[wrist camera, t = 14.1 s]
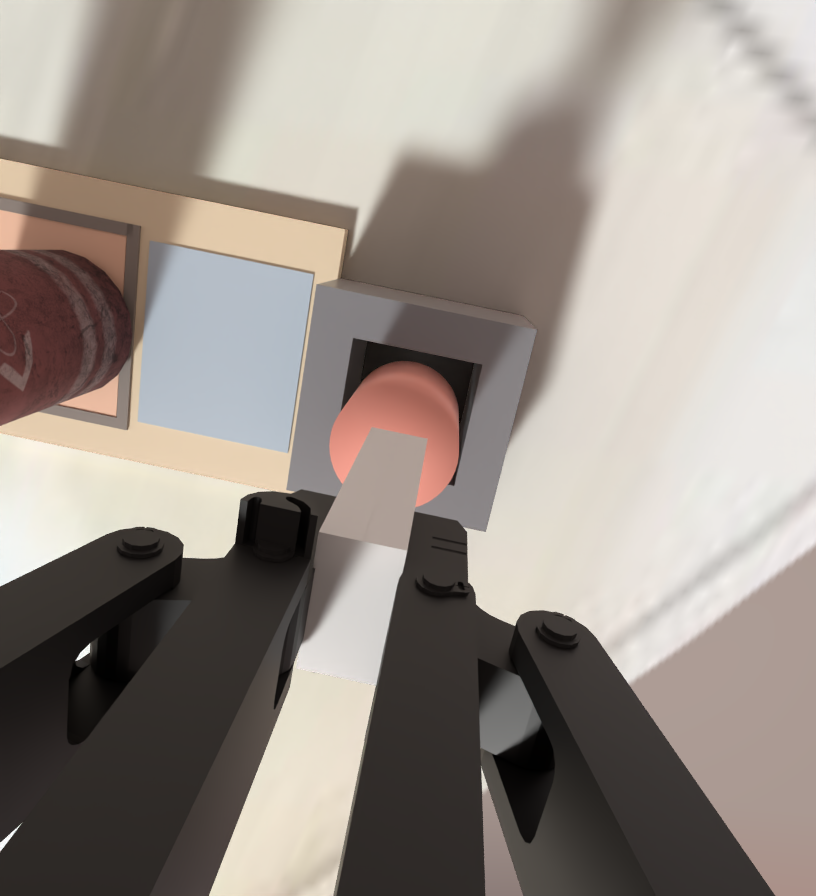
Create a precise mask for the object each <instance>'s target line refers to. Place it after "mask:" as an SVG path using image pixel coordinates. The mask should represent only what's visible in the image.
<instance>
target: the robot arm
mask: <svg viewBox="0 0 816 896" xmlns="http://www.w3.org/2000/svg"><path fill="white" fill-rule="evenodd" d="M427 440H428V439H426V438H422V437H417V436H412V435H407V434H403V433H398V432H393V431H388V430H384V429H379V428H374V427H372V428H371V430H370V432H369V434H368V436H367V437H366V439H365V441H364V443H363V445H362V447H361V449H360V451H359V453H358V455H357V457H356V459H355V461H354V463H353V465H352V467H351V469H350V471H349V473H348V475H347V477H346V479H345V481H344V483H343V485H342V487H341V489H340V491H339V493H338V495H337V497H336V496H331V495H327V494H322V493H317V492H313V491H308V490H303V489H301V490H298V491H296V492H294V493H291V494H290V493H283V492H275V491H271V492H257V493H253V494H249V495H247V496H245V497H244V498H242V499H241V500H240V509H239V517H238V525H237V533H236V541H235V544H234V546H233V547H232V548H231V550H230V551H229V552H228V554H227V555H226V556H225V557H224V558H217V559H197V558H182V557H183V546H184V545H183V543H182V542H181V541H180V539H179V538H178V537H176V536H174V535H172V534H170V533H168V532H165V531H161V530H157V529H155V528H149V527H147V528H145V527H135V528H131V529H123V530H118V531H115V532H112V533H109V534H107V535H105V536H103V537H100V538H98V539H96V540H94V541H92V542H90V543H88V544H86V545H84V546H82V547H80V548H78V549H76V550H74V551H72V552H70V553H68V554H66V555H64V556H62V557H60V558H58V559H56V560H54V561H52V562H49V563H47V564H45V565H43V566H41V567H39V568H37V569H35V570H33V571H31V572H29V573H27V574H25V575H23V576H21V577H19V578H17V579H15V580H13V581H11V582H9V583H7V584H5V585H3V586H1V587H0V842H1V841H2V840H4V839H5V838H6V837H7V836H8V835H9V834H10V833H11V832H12V831H14V830H15V829H16V828H17V827H18V826H19V825H20V824H21V823H22V822H23V823H22V824H21V825H20V827H19V828H18V829H17V831H16V832H15V833H14V835H13V836H12V837H11V839H10V840H9V841H8V843H7V844H6V845H5V846H4V848H3V849H2V850H1V852H0V896H209V893H210V891H211V888H212V886H213V883H214V881H215V878H216V875H217V873H218V870H219V868H220V865H221V863H222V860H223V857H224V855H225V852H226V850H227V847H228V845H229V842H230V839H231V837H232V834H233V832H234V829H235V827H236V824H237V821H238V819H239V816H240V814H241V811H242V809H243V806H244V803H245V801H246V798H247V796H248V793H249V791H250V788H251V785H252V783H253V780H254V778H255V775H256V773H257V770H258V767H259V765H260V762H261V760H262V757H263V755H264V752H265V749H266V747H267V744H268V742H269V739H270V737H271V734H272V731H273V729H274V726H275V724H276V721H277V718H278V716H279V713H280V711H281V708H282V706H283V703H284V700H285V698H286V695H287V693H288V690H289V688H290V683H291V677H292V671H293V664H294V661H295V658H296V656H297V653H298V651H299V654H298V660H297V666H296V668H297V669H301V670H306V671H311V672H315V673H320V674H324V675H329V676H333V677H338V678H343V679H347V680H352V681H356V682H361V683H366V684H370V685H375V686H376V688H375V693H374V698H373V702H372V707H371V712H370V716H369V721H368V726H367V730H366V735H365V742H364V747H363V752H362V757H361V762H360V767H359V772H358V777H357V781H356V786H355V791H354V796H353V801H352V806H351V811H350V816H349V821H348V826H347V831H346V836H345V841H344V846H343V851H342V856H341V861H340V866H339V871H338V876H337V880H336V885H335V890H334V895H333V896H485V873H484V845H483V843H484V842H483V811H482V780H481V766H482V770H483V773H484V776H485V779H486V782H487V785H488V788H489V791H490V794H491V797H492V800H493V803H494V806H495V809H496V813H497V816H498V819H499V822H500V825H501V828H502V831H503V834H504V837H505V840H506V843H507V847H508V850H509V853H510V856H511V859H512V862H513V865H514V868H515V871H516V874H517V878H518V881H519V884H520V887H521V890H522V893H523V896H775V895H774V893H773V892H772V891H771V889H770V888H769V886H768V885H767V883H766V882H765V880H764V879H763V878H762V876H761V875H760V873H759V872H758V870H757V869H756V867H755V866H754V865H753V863H752V862H751V860H750V859H749V857H748V856H747V855H746V853H745V852H744V850H743V849H742V848H741V846H740V844H739V843H738V842H737V840H736V839H735V837H734V836H733V834H732V833H731V831H730V830H729V829H728V827H727V826H726V824H725V823H724V821H723V820H722V818H721V817H720V816H719V814H718V813H717V811H716V810H715V808H714V807H713V806H712V804H711V803H710V801H709V800H708V798H707V797H706V796H705V794H704V793H703V791H702V790H701V788H700V787H699V785H698V784H697V782H696V781H695V780H694V778H693V777H692V775H691V774H690V772H689V771H688V769H687V768H686V767H685V765H684V764H683V762H682V761H681V759H680V758H679V757H678V755H677V754H676V752H675V751H674V749H673V748H672V746H671V745H670V744H669V742H668V741H667V739H666V738H665V736H664V735H663V734H662V732H661V731H660V729H659V728H658V726H657V725H656V724H655V722H654V720H653V719H652V718H651V716H650V715H649V713H648V712H647V710H645V708H644V706H643V705H642V703H641V702H640V701H639V699H638V698H637V696H636V695H635V693H634V692H633V690H632V689H631V687H630V686H629V684H628V683H627V682H626V680H625V679H624V677H623V676H622V674H621V673H620V672H619V670H618V669H617V667H616V666H615V664H614V663H613V661H612V660H611V659H610V657H609V656H608V654H607V653H606V651H605V650H604V648H603V647H602V646H601V644H600V643H599V641H598V640H597V638H596V637H595V636H594V635H593V634H592V633H591V632H590V631H589V630H588V629H587V628H586V627H585V626H583V625H582V624H580V623H578V622H577V621H575V620H574V619H573V618H571V617H569V616H566V615H565V616H564V614H561V613H557V612H549V611H544V610H541V611H529V612H526V613H524V614H522V615H520V617H519V619H518V621H517V623H516V626H513V625H511V624H508V623H506V622H504V621H501V620H499V619H497V618H495V617H493V616H491V615H489V614H488V613H486V612H485V611H483V610H482V609H480V608H479V607H478V606H477V605H476V596H475V592H474V589H473V587H472V586H471V585H470V584H469V583H468V559H467V532H466V531H465V529H464V528H463V527H462V525H461V524H460V523H459V522H458V521H457V520H452V519H448V518H443V517H438V516H434V515H429V514H424V513H419V512H415V506H416V500H417V495H418V489H419V484H420V478H421V473H422V467H423V462H424V456H425V451H426V445H427ZM89 644H90V653H89V654H87V655H86V656H84V657H83V658H81V659H80V660H78V661H75V660H76V659H77V657H78V655H79V654H80V652H81V651H82V650H83V649H84V648H86V647H87V646H88V645H89ZM480 748H481V749H480Z"/></svg>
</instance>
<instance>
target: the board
mask: <svg viewBox="0 0 816 896" xmlns="http://www.w3.org/2000/svg"><path fill="white" fill-rule="evenodd" d="M347 235H348V230H346V229H341V228H337V227H332V226H327V225H322V224H317V223H312V222H307V221H302V220H297V219H293V218H288V217H283V216H278V215H273V214H268V213H263V212H258V211H254V210H249V209H244V208H239V207H234V206H229V205H224V204H219V203H215V202H210V201H205V200H200V199H195V198H190V197H185V196H180V195H176V194H171V193H166V192H161V191H156V190H151V189H146V188H141V187H137V186H132V185H127V184H122V183H117V182H112V181H107V180H102V179H98V178H93V177H88V176H83V175H78V174H73V173H68V172H63V171H58V170H54V169H49V168H44V167H39V166H34V165H29V164H24V163H19V162H15V161H10V160H5V159H0V250H65V251H68V252H71V253H74V254H77V255H80V256H82V257H85V258H87V259H88V260H89V261H91V262H92V263H94V264H95V265H96V266H98V267H99V268H100V269H102V270H103V271H105V272H106V274H107V275H108V276H109V277H110V279H111V280H112V281H113V282H114V284H115V285H116V286H117V288H118V289H119V290H120V291H121V294H122V296H123V299H124V301H125V303H126V306H127V308H128V310H129V313H130V319H131V328H132V341H131V346H130V352H129V357H128V359H127V361H126V362H125V364H124V366H123V367H122V369H121V371H120V373H119V374H118V375H117V376H116V377H115V378H114V379H112V380H111V381H110V382H109V383H107V384H106V385H105V386H104V387H102V388H99V389H97V390H94V391H91V392H89V393H86V394H83V395H81V396H78V397H75V398H73V399H70V400H68V401H65V402H62V403H60V404H57V405H54V406H52V407H49V408H46V409H44V410H41V411H39V412H36V413H33V414H31V415H28V416H25V417H23V418H20V419H17V420H15V421H12V422H9V423H7V424H4V425H2V426H0V433H2V434H6V435H11V436H16V437H21V438H25V439H30V440H35V441H40V442H44V443H49V444H54V445H59V446H63V447H68V448H73V449H78V450H82V451H87V452H92V453H97V454H101V455H106V456H111V457H116V458H120V459H125V460H130V461H135V462H139V463H144V464H149V465H154V466H159V467H163V468H168V469H173V470H178V471H182V472H187V473H192V474H197V475H201V476H206V477H211V478H216V479H220V480H225V481H230V482H235V483H239V484H244V485H249V486H254V487H258V488H263V489H268V490H273V491H277V492H283V493H290V494H291V493H294V491H289V490H286V488H287V482H288V475H289V468H290V461H291V454H292V447H293V441H294V434H295V427H296V420H297V413H298V407H299V400H300V393H301V386H302V379H303V372H304V366H305V359H306V352H307V345H308V338H309V332H310V325H311V318H312V311H313V304H314V297H315V291H316V284H320V283H324V282H328V281H332V280H336V279H339V278H341V273H342V267H343V261H344V254H345V248H346V241H347Z"/></svg>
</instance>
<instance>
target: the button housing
mask: <svg viewBox="0 0 816 896" xmlns="http://www.w3.org/2000/svg"><path fill="white" fill-rule="evenodd" d="M536 333H537V329H536V328H535V327H534V326H533V325H532V324H531V323H530V322H529V321H528V320H527V319H526V318H525V317H524V316H522V315H517V314H512V313H507V312H503V311H498V310H493V309H488V308H483V307H478V306H473V305H469V304H464V303H459V302H454V301H449V300H444V299H439V298H435V297H430V296H425V295H420V294H415V293H410V292H405V291H401V290H396V289H391V288H386V287H381V286H376V285H371V284H367V283H362V282H357V281H352V280H347V279H342V278H339V279H336V280H332V281H328V282H324V283H320V284H316V291H315V297H314V304H313V311H312V318H311V325H310V332H309V338H308V345H307V352H306V359H305V366H304V372H303V379H302V386H301V393H300V400H299V407H298V413H297V420H296V427H295V434H294V441H293V447H292V454H291V461H290V468H289V475H288V482H287V488H286V490H289V491H294V492H296V491H298V490H301V489H303V490H308V491H313V492H317V493H322V494H327V495H331V496H336V497H337V495H338V493H339V491H340V489H341V487H342V485H343V484H342V483H341V481H340V480H339V478H338V477H337V475H336V473H335V470H334V468H333V465H332V462H331V457H330V448H329V443H330V435H331V431H332V427H333V425H334V422H335V420H336V418H337V417H338V415H339V413H340V412H341V410H342V409H343V408H344V406H345V405H346V403H347V402H348V401H349V399H350V398H351V397H352V395H353V394H354V392H355V391H356V390H357V388H358V387H359V385H360V381H361V375H362V369H363V364H364V358H365V352H366V347H367V341H371V342H376V343H380V344H385V345H390V346H395V347H400V348H405V349H409V350H414V351H419V352H424V353H429V354H434V355H438V356H443V357H448V358H453V359H458V360H463V361H467V362H472V363H474V366H473V371H472V375H471V380H470V384H469V388H468V393H467V397H466V401H465V406H464V410H463V415H462V419H461V423H460V428H459V457H458V463H457V467H456V470H455V473H454V475H453V477H452V479H451V480H450V482H449V484H448V485H447V486H446V487H445V489H444V490H443V491H442V492H441V493H440V494H439V495H438V496H436V497H435V498H434V499H432V500H431V501H429V502H427V503H425V504H423V505H421V506H418V507H415V512H419V513H424V514H429V515H434V516H438V517H443V518H448V519H452V520H457V521H458V522H459V523H460V524H461V525H462V527H465V528H470V529H474V530H479V531H484V532H486V529H487V525H488V521H489V517H490V513H491V509H492V505H493V501H494V497H495V493H496V489H497V486H498V482H499V478H500V474H501V470H502V466H503V462H504V458H505V454H506V450H507V446H508V442H509V438H510V435H511V431H512V427H513V423H514V419H515V415H516V411H517V407H518V403H519V399H520V395H521V391H522V387H523V384H524V380H525V376H526V372H527V368H528V364H529V360H530V356H531V352H532V348H533V344H534V340H535V336H536Z"/></svg>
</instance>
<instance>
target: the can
mask: <svg viewBox="0 0 816 896" xmlns="http://www.w3.org/2000/svg"><path fill="white" fill-rule="evenodd" d="M131 341H132V328H131V319H130V313H129V310H128V308H127V306H126V303H125V301H124V299H123V296H122V294H121V291H120V290H119V289H118V288H117V286H116V285H115V284H114V282H113V281H112V280H111V279H110V277H109V276H108V275H107V274H106V272H105V271H103V270H102V269H100V268H99V267H98V266H96V265H95V264H94V263H92V262H91V261H89V260H88V259H87V258H85V257H82V256H80V255H77V254H74V253H71V252H68V251H65V250H0V426H2V425H4V424H7V423H9V422H12V421H15V420H17V419H20V418H23V417H25V416H28V415H31V414H33V413H36V412H39V411H41V410H44V409H46V408H49V407H52V406H54V405H57V404H60V403H62V402H65V401H68V400H70V399H73V398H75V397H78V396H81V395H83V394H86V393H89V392H91V391H94V390H97V389H99V388H102V387H104V386H105V385H106V384H107V383H109V382H110V381H111V380H112V379H114V378H115V377H116V376H117V375H118V374H119V373H120V371H121V369H122V367H123V366H124V364H125V362H126V361H127V359H128V357H129V352H130V346H131Z"/></svg>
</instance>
